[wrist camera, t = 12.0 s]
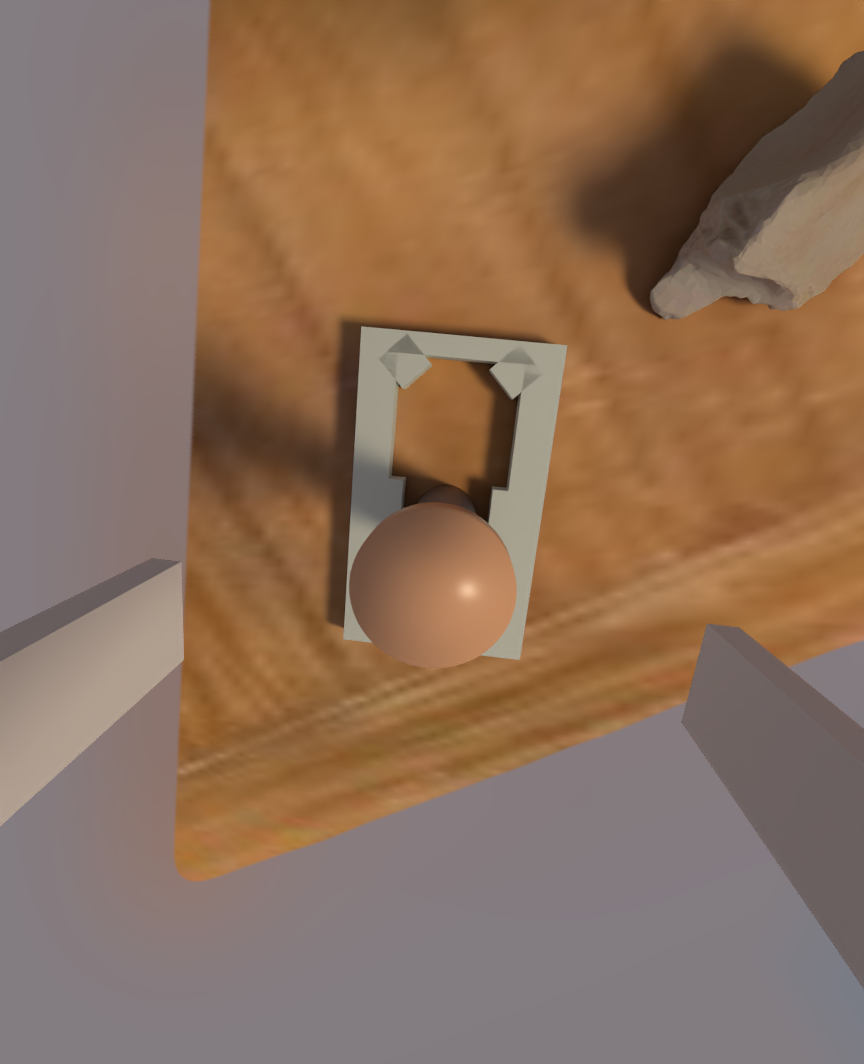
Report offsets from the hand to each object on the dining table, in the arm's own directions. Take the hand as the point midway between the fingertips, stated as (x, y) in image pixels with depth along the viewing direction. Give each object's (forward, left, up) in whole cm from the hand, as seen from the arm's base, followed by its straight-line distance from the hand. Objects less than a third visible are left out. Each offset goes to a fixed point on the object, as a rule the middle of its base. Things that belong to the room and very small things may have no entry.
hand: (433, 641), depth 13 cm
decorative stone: (-17, +17, -21) cm, 32 cm away
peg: (+1, 0, -21) cm, 21 cm away
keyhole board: (0, 0, -21) cm, 21 cm away
